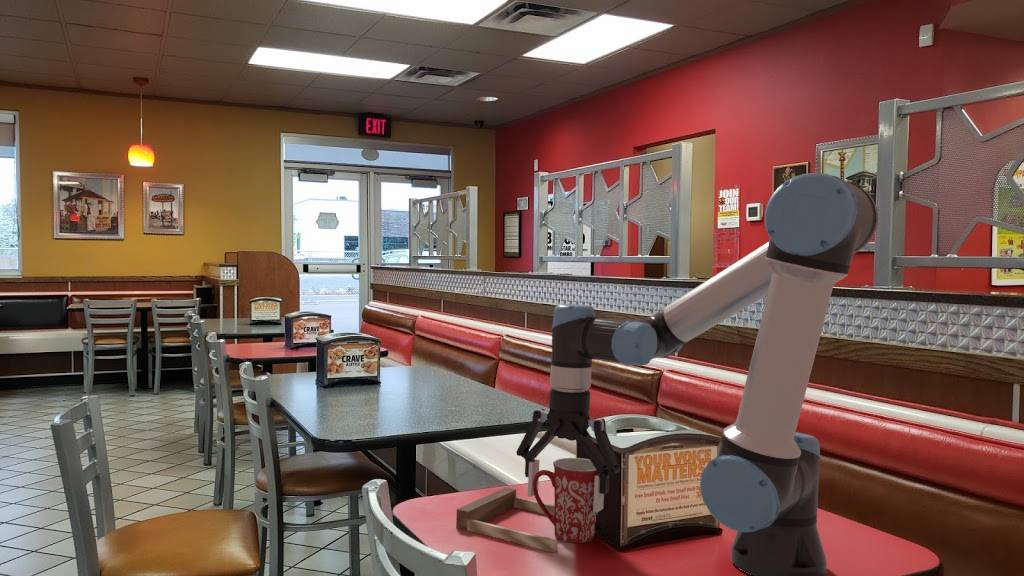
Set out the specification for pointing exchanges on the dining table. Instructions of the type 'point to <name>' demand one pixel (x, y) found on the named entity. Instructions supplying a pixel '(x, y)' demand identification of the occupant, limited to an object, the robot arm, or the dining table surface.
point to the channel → (494, 504)
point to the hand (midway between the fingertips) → (564, 502)
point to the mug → (571, 499)
